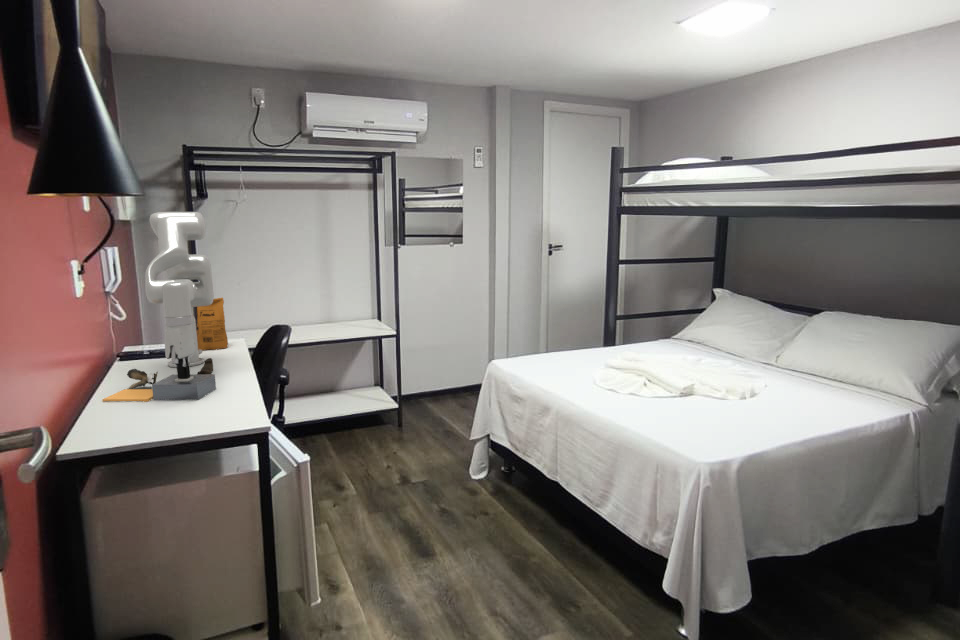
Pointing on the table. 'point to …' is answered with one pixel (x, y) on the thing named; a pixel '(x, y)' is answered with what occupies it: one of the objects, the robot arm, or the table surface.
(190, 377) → the button
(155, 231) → the robot arm
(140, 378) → the eagle figurine
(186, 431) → the table surface
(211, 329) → the coffee package
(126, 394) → the pad
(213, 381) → the breaker box
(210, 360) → the hand tool
